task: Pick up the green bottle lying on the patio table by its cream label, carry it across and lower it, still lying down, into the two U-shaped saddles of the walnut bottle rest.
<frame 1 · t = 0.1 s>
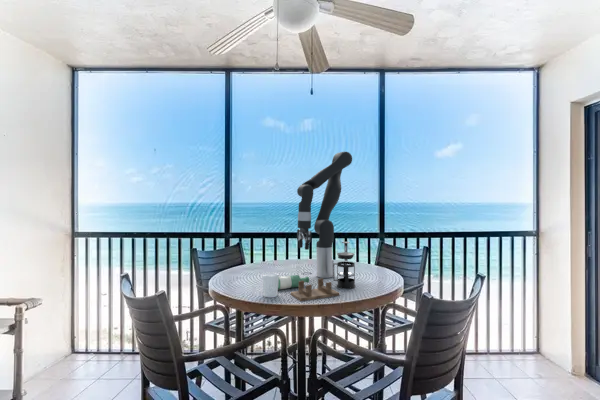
hand: (303, 248, 186), 17 cm above the table, tool pointing down, fingers open, 8 cm apart
green bottle: (285, 288, 167), on the table
french press: (345, 286, 170), on the table
bottle rest: (314, 295, 155), on the table
white cup: (270, 295, 155), on the table
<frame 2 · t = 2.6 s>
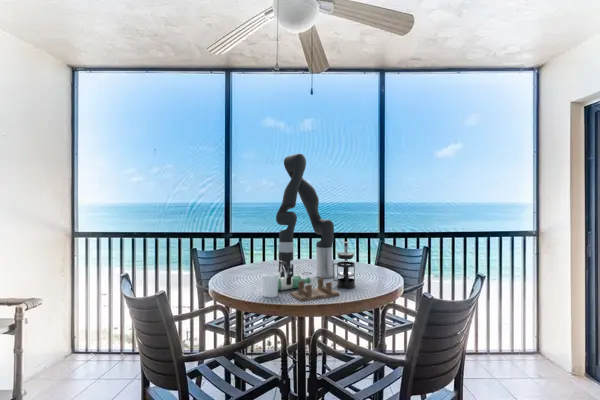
hand: (285, 283, 166), 3 cm above the table, tool pointing down, fingers open, 8 cm apart
green bottle: (284, 285, 167), point 1 cm above the table, tilted 52°
everything else where it was.
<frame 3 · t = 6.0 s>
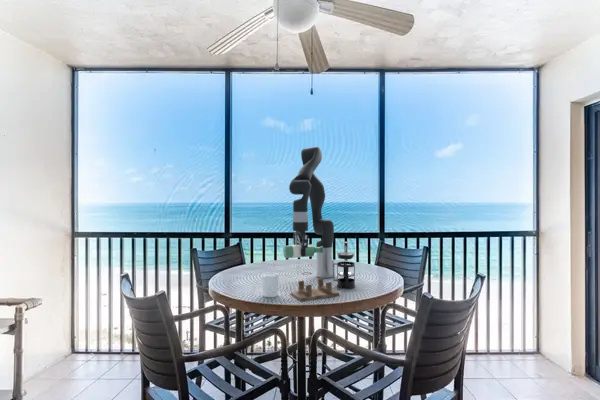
hand: (300, 255, 161), 18 cm above the table, tool pointing down, fingers closed on green bottle, 6 cm apart
green bottle: (298, 256, 161), point 17 cm above the table, tilted 11°, touching gripper
everything else where it was.
when the fingers open (5 cm above the table, at t = 8.6 s): green bottle drops 1 cm, resting on bottle rest.
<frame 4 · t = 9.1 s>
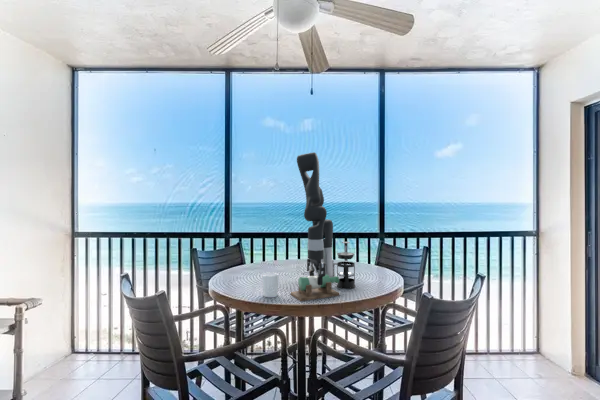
hand: (315, 283, 155), 6 cm above the table, tool pointing down, fingers open, 8 cm apart
green bottle: (313, 288, 155), point 3 cm above the table, tilted 13°, touching bottle rest
everything else where it was.
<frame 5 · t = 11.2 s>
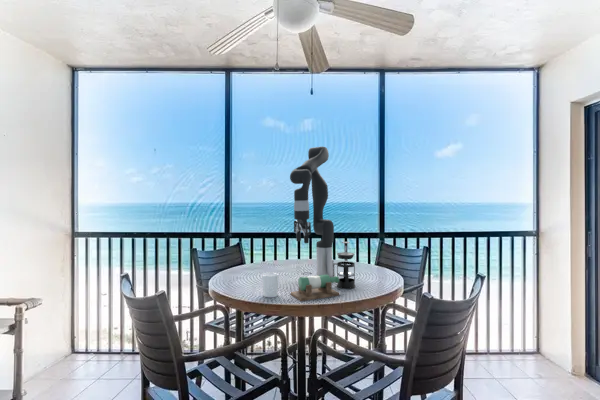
hand: (302, 242, 164), 24 cm above the table, tool pointing down, fingers open, 8 cm apart
nothing on the table moved.
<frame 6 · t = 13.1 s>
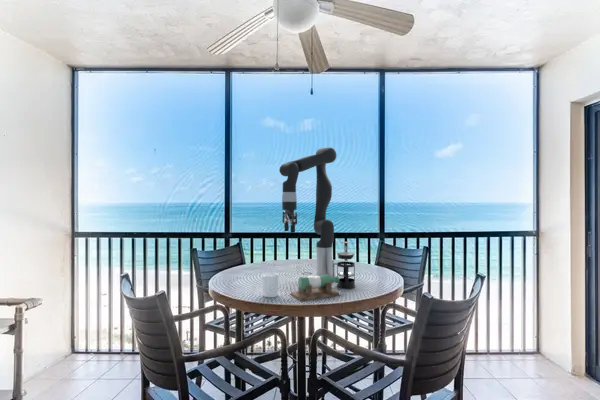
hand: (289, 231, 172), 28 cm above the table, tool pointing down, fingers open, 8 cm apart
nothing on the table moved.
at the end: green bottle 0.8 cm off-centre on the bottle rest, point 3.1 cm above the bottle rest's base; the gripper is holding nothing; white cup moved 0.2 cm from its start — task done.
